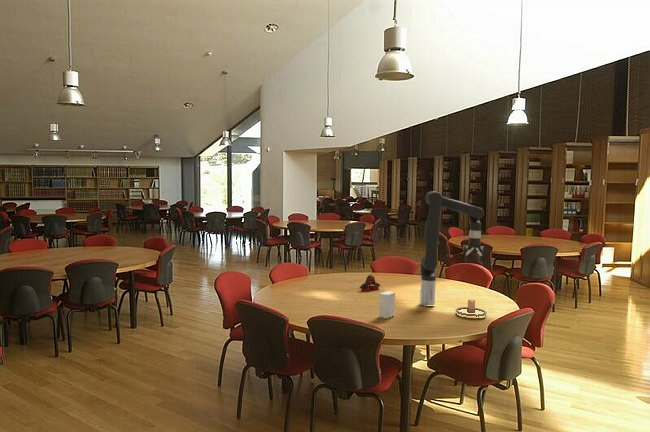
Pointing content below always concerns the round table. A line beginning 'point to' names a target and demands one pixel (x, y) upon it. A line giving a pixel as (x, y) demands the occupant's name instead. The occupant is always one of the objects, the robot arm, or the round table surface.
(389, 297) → the skincare box
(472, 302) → the clay spool
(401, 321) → the round table surface
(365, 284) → the logo sign
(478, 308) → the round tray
